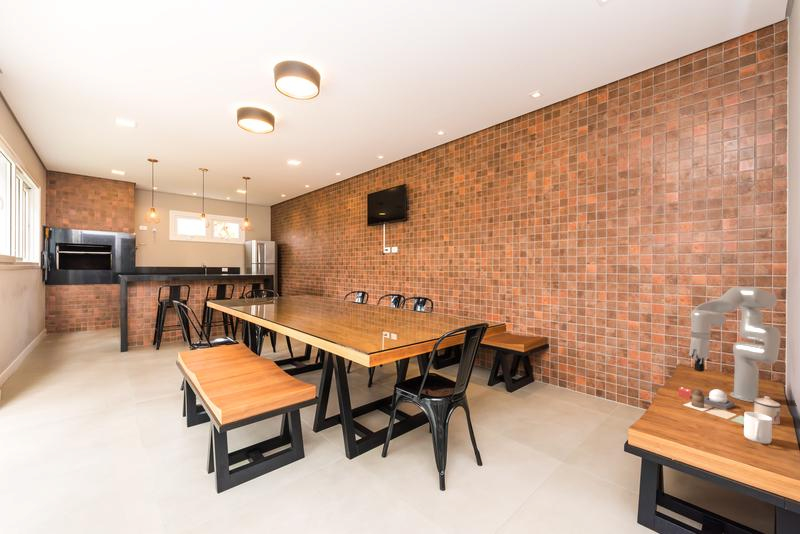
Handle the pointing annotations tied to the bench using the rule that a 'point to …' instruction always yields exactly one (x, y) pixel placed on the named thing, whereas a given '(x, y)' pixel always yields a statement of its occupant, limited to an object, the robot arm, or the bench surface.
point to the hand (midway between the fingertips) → (699, 370)
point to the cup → (758, 427)
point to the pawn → (697, 399)
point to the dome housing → (723, 406)
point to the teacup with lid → (768, 408)
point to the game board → (719, 413)
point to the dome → (718, 396)
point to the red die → (684, 392)
